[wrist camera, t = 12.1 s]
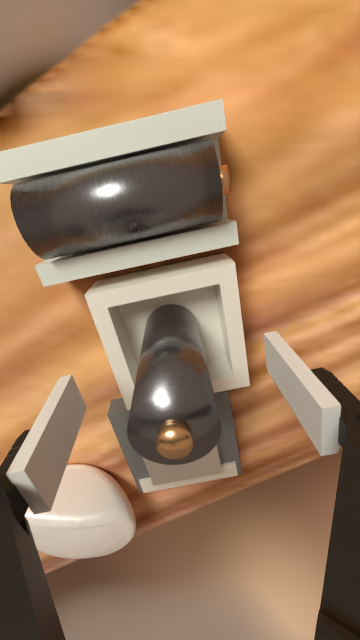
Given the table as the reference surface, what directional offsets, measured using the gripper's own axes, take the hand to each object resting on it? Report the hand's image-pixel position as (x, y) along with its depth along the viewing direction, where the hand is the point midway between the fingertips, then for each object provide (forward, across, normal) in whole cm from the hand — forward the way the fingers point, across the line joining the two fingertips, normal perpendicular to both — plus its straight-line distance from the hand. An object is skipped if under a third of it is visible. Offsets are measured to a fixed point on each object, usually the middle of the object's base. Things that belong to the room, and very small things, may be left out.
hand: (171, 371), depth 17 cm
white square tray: (+7, 0, 0) cm, 7 cm away
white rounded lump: (+7, -14, -18) cm, 25 cm away
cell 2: (+6, 0, 0) cm, 6 cm away
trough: (+7, 0, +10) cm, 12 cm away
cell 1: (+6, -1, +10) cm, 12 cm away
